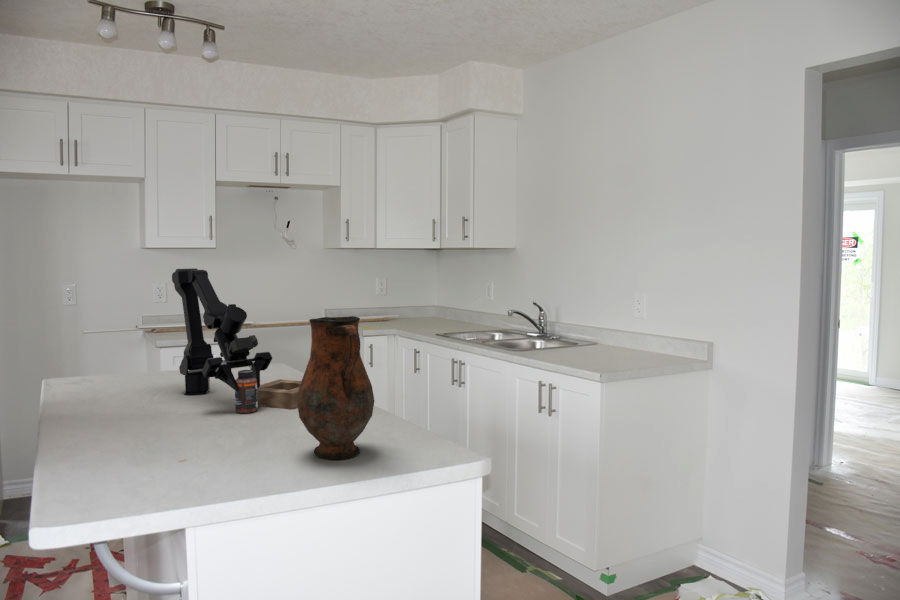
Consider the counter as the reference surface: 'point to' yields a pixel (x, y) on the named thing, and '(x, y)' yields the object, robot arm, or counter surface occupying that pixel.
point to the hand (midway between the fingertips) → (248, 388)
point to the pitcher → (335, 388)
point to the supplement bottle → (246, 392)
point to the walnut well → (279, 394)
